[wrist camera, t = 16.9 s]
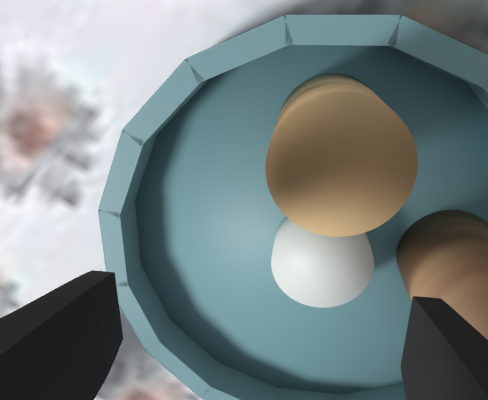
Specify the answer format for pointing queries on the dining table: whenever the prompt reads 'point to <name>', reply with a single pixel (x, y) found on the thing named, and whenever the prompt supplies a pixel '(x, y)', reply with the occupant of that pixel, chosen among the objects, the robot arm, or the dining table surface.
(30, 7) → the dining table surface
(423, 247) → the brown wooden peg
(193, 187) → the ring tray
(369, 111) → the oak bead
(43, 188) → the dining table surface
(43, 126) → the dining table surface
